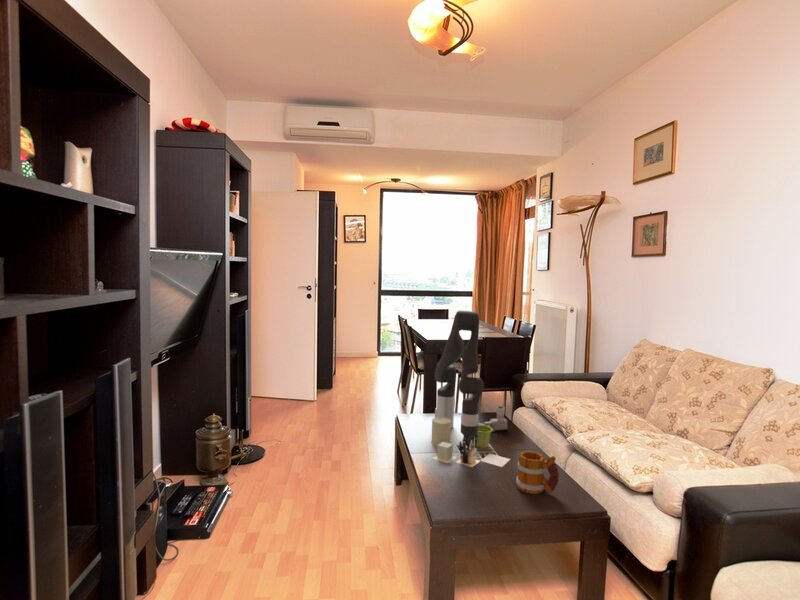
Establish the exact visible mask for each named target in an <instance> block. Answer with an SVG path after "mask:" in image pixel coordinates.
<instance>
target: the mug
mask: <svg viewBox="0 0 800 600" xmlns="http://www.w3.org/2000/svg"><path fill="white" fill-rule="evenodd" d="M556 459H557V458H556V457H555V456H554V455H553V456H551V457H549V458H548V459H547V460H546V459H545V456H544V455H543V454H541V453H539V452H535V451H531V450H529V451H527V450H524V451H521V452H519V453H518V461H517V469H518V472H517V476H516V480H515V483H516V487H517V488H516V489H518V490H520V491H521V492H523V493H525V494H531V495H538V494H539V495H540V494H542V493H543V492H544V491H546V492H547V494H552V493H553V492H554V491H555V489H556V487H557V486H558V483H559V477H560V474H559V471H558V470H559V469H558V466H557V464H556ZM546 469H547V472H548V473H549V477H548V478H547V477H545V472H546Z"/></svg>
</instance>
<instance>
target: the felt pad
mask: <svg viewBox="0 0 800 600" xmlns="http://www.w3.org/2000/svg"><path fill="white" fill-rule="evenodd" d="M510 460H511V458H507V457H503V456H500V455H497V454H493V453H488V454H487V455H485V456H484V457H483V458H482V459H480V462H482V463H486V464H489V465H493V466H496V467H499V468H503V467H504V466H505V465H506V464H507V463H508V462H509V461H510Z"/></svg>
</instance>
